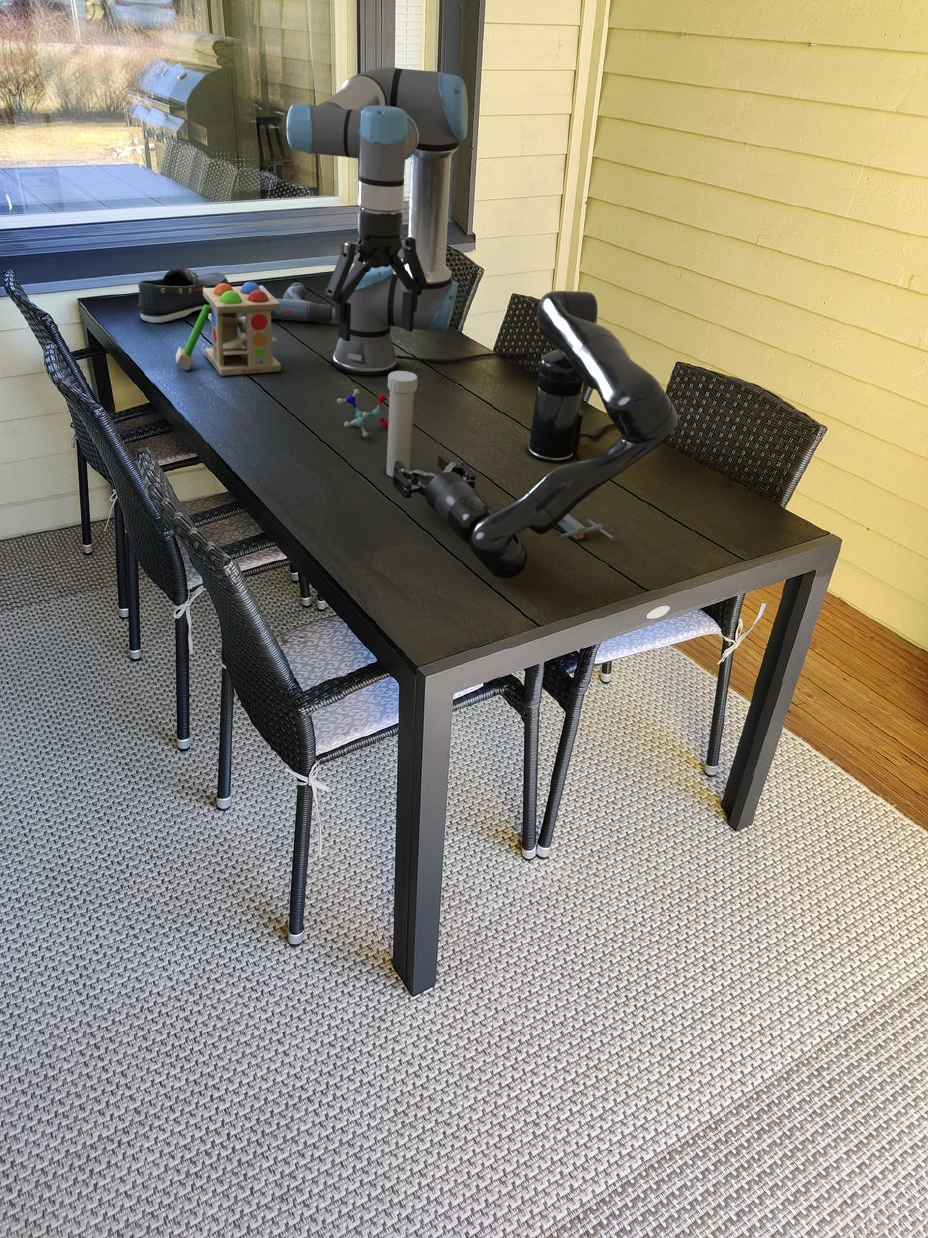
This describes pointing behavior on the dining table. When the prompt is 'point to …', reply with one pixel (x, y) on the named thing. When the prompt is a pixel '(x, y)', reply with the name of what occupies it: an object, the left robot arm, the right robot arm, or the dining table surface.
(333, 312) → the power drill
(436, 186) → the left robot arm
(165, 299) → the boat shoe
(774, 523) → the dining table surface
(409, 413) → the jar
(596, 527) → the clamp
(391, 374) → the lid
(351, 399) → the molecular model
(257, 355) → the pounding bench toy
